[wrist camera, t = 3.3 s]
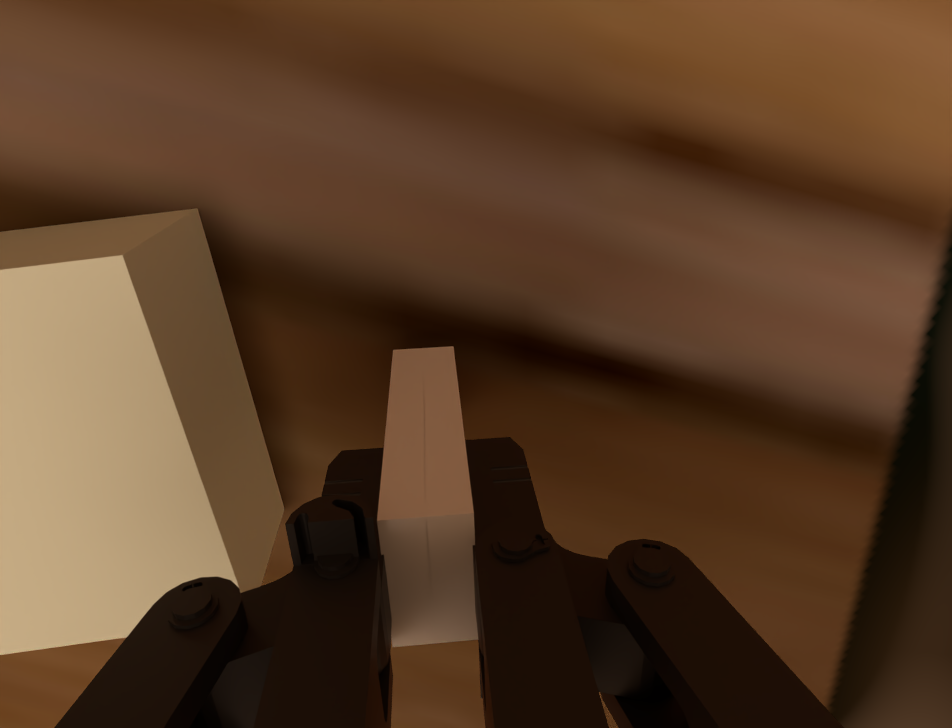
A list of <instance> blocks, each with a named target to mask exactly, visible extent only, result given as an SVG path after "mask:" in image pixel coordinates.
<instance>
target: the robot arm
mask: <svg viewBox="0 0 952 728" xmlns="http://www.w3.org/2000/svg"><path fill="white" fill-rule="evenodd" d="M285 525H286V530H287V535H288V540H289V545H290V550H291V555H292V560H293V565H294V567H293V571H292V572H290V573H289V574H287V575H285V576H284V577H282V578H281V579H279V580H276V581H274V582H271V583H269V584H266V585H263V586H260V587H257V588H254V589H251V590H248V591H245V592H242V593H241V592H240V588H239V587H237V586H236V585H235V584H234V583H233V582H232V581H231V580H228V579H225V578H221V577H218V576H216V577H200V578H197V579H194V580H191V581H187V582H184V583H182V584H180V585H178V586H176V587H175V588H173V589H171V590H169V591H168V592H166V593H165V594H164V595H163V596H162V597H161V598H160V599H159V600H158V601H156V602H155V603H154V604H153V605H152V607H151V608H150V609H149V610H148V612H147V613H146V614H145V615H144V617H143V618H142V619H141V620H140V622H139V623H138V624H137V625H136V627H135V628H134V629H133V630H132V632H131V633H130V634H129V635H128V637H127V638H126V639H125V640H124V642H123V643H122V644H121V645H120V647H119V648H118V649H117V650H116V652H115V653H114V654H113V655H112V657H111V658H110V659H109V660H108V662H107V663H106V664H105V665H104V666H103V668H102V669H101V670H100V671H99V673H98V674H97V675H96V676H95V678H94V679H93V680H92V681H91V683H90V684H89V685H88V686H87V688H86V689H85V690H84V691H83V693H82V694H81V695H80V696H79V698H78V699H77V700H76V701H75V703H74V704H73V705H72V706H71V708H70V709H69V710H68V711H67V713H66V714H65V715H64V716H63V718H62V719H61V720H60V721H59V723H58V724H57V725H56V726H55V728H391V709H392V685H393V672H392V664H391V656H390V647H391V638H392V646H393V647H401V646H412V645H423V644H434V643H445V642H456V641H468V640H478V641H479V661H480V685H481V698H483V705H484V716H485V726H486V728H609V727H608V723H607V720H606V716H605V713H604V709H603V706H602V702H601V699H600V695H599V692H600V693H601V696H602V699H603V701H604V703H605V704H606V706H607V708H608V710H609V711H610V713H611V715H612V717H613V718H614V720H615V722H616V724H617V725H618V727H619V728H843V726H842V725H841V724H840V723H839V722H838V721H837V720H836V719H835V718H834V716H833V715H832V714H831V713H830V712H829V711H828V710H827V709H826V708H825V707H824V706H823V704H822V703H821V702H820V701H819V700H818V699H817V698H816V697H815V696H814V695H813V694H812V692H811V691H810V690H809V689H808V688H807V687H806V686H805V685H804V684H803V683H802V682H801V680H800V679H799V678H798V677H797V676H796V675H795V674H794V673H793V672H792V671H791V669H790V668H789V667H788V666H787V665H786V664H785V663H784V662H783V661H782V660H781V659H780V657H779V656H778V655H777V654H776V653H775V652H774V651H773V650H772V649H771V648H770V647H769V645H768V644H767V643H766V642H765V641H764V640H763V639H762V638H761V637H760V636H759V635H758V633H757V632H756V631H755V630H754V629H753V628H752V627H751V626H750V625H749V624H748V622H747V621H746V620H745V619H744V618H743V617H742V616H741V615H740V614H739V613H738V612H737V610H736V609H735V608H734V607H733V606H732V605H731V604H730V603H729V602H728V601H727V600H726V598H725V597H724V596H723V595H722V594H721V593H720V592H719V591H718V590H717V589H716V588H715V586H714V585H713V584H712V583H711V582H710V581H709V580H708V579H707V578H706V577H705V575H704V574H703V573H702V572H701V571H700V570H699V569H698V568H697V567H696V566H695V565H694V563H693V562H692V561H691V560H690V559H689V558H688V557H687V556H685V555H684V554H683V553H682V552H680V551H679V550H678V549H677V548H675V547H672V546H670V545H667V544H665V543H663V542H660V541H653V540H647V539H640V540H631V541H627V542H625V543H623V544H620V545H618V546H616V547H615V548H614V550H613V551H612V552H611V553H610V554H609V556H608V559H602V558H595V557H589V556H584V555H580V554H576V553H573V552H571V551H569V550H566V549H564V548H562V547H561V546H559V545H558V544H557V543H556V542H555V541H554V539H553V537H552V536H551V534H550V533H548V532H547V531H546V530H545V528H544V524H543V521H542V517H541V513H540V510H539V506H538V502H537V499H536V495H535V491H534V488H533V484H532V481H531V477H530V473H529V469H528V467H527V462H526V458H525V455H524V451H523V449H522V448H521V447H520V446H519V445H518V444H517V443H515V442H514V441H513V440H512V439H511V438H510V437H505V438H491V439H476V440H465V437H464V429H463V420H462V412H461V404H460V396H459V388H458V380H457V371H456V363H455V355H454V347H453V346H449V347H433V348H417V349H401V350H393V357H392V367H391V378H390V388H389V399H388V410H387V420H386V431H385V441H384V448H373V449H359V450H345V451H341V452H340V453H339V454H338V456H337V457H336V458H335V459H334V460H333V461H332V462H331V463H330V464H329V466H328V470H327V474H326V479H325V485H324V487H323V492H322V497H319V498H316V499H314V500H312V501H309V502H307V503H305V504H303V505H302V506H300V507H299V508H298V509H297V510H295V511H294V512H293V513H292V514H291V515H290V517H289V519H288V521H287V522H286V524H285Z"/></svg>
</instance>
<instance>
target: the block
mask: <svg viewBox="0 0 952 728" xmlns="http://www.w3.org/2000/svg"><path fill="white" fill-rule="evenodd" d="M283 512H284V505H283V502H282V499H281V495H280V492H279V488H278V485H277V481H276V478H275V474H274V471H273V467H272V464H271V461H270V457H269V454H268V450H267V447H266V443H265V440H264V436H263V433H262V429H261V426H260V422H259V419H258V416H257V412H256V409H255V405H254V402H253V398H252V395H251V391H250V388H249V384H248V381H247V378H246V374H245V371H244V367H243V364H242V360H241V357H240V353H239V350H238V346H237V343H236V340H235V336H234V333H233V329H232V326H231V322H230V319H229V315H228V312H227V308H226V305H225V302H224V298H223V295H222V291H221V288H220V284H219V281H218V277H217V274H216V270H215V267H214V264H213V260H212V257H211V253H210V250H209V246H208V243H207V239H206V236H205V232H204V229H203V226H202V222H201V219H200V215H199V212H198V208H196V209H187V210H179V211H171V212H162V213H154V214H145V215H137V216H129V217H120V218H112V219H103V220H95V221H87V222H78V223H70V224H62V225H53V226H45V227H36V228H28V229H20V230H11V231H3V232H0V655H2V654H10V653H17V652H24V651H31V650H38V649H46V648H53V647H60V646H67V645H74V644H81V643H89V642H96V641H103V640H110V639H117V638H125V637H128V635H129V634H130V633H131V632H132V630H133V629H134V628H135V627H136V625H137V624H138V623H139V622H140V620H141V619H142V618H143V617H144V615H145V614H146V613H147V612H148V610H149V609H150V608H151V607H152V605H153V604H154V603H155V602H156V601H158V600H159V599H160V598H161V597H162V596H163V595H164V594H165V593H166V592H168V591H169V590H171V589H173V588H175V587H176V586H178V585H180V584H182V583H184V582H187V581H191V580H194V579H197V578H200V577H216V576H218V577H221V578H225V579H228V580H231V581H232V582H233V583H234V584H235V585H236V586H237V587H239V588H240V592H241V593H242V592H245V591H248V590H251V589H254V588H257V587H260V586H261V584H262V581H263V578H264V575H265V571H266V568H267V565H268V561H269V558H270V555H271V552H272V548H273V545H274V542H275V539H276V535H277V532H278V529H279V526H280V522H281V519H282V516H283Z"/></svg>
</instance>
